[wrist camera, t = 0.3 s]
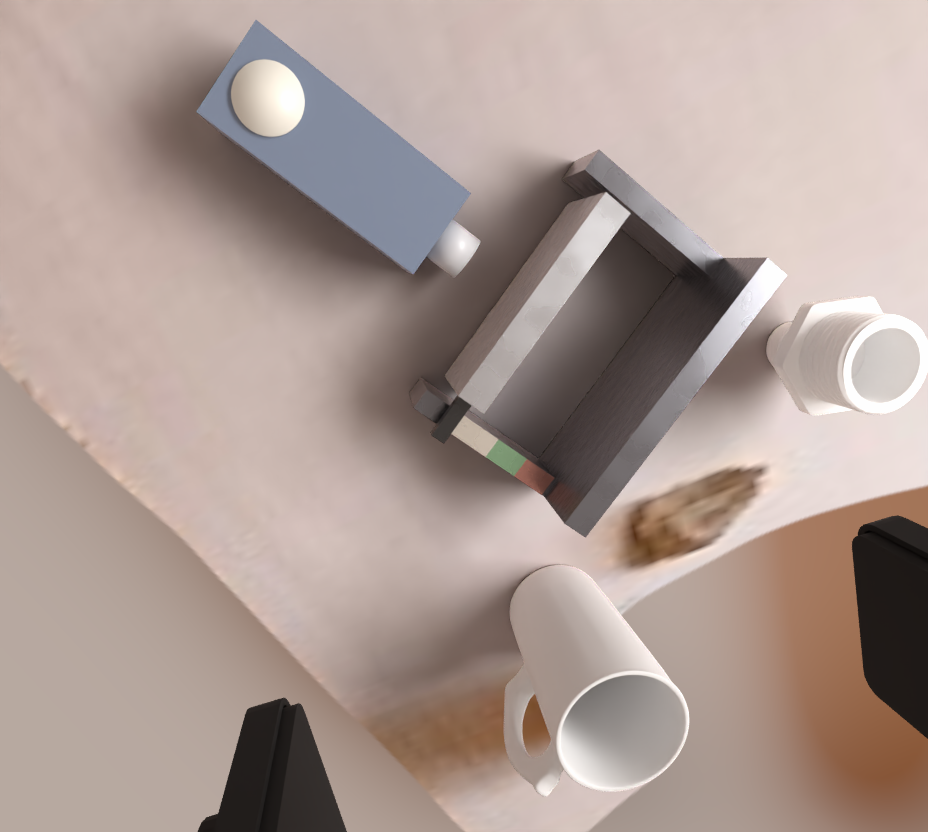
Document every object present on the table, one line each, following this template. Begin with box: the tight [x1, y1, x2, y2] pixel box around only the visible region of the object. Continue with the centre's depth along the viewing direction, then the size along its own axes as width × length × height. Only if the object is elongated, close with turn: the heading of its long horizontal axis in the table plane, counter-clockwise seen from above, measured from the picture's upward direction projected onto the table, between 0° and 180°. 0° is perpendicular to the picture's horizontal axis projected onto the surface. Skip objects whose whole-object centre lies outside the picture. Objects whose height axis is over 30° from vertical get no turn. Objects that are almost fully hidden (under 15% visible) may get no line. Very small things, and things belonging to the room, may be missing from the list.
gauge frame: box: [409, 150, 787, 538], centre depth 35 cm, size 10×16×8 cm, turn 144°
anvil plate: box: [430, 192, 630, 443], centre depth 35 cm, size 2×15×6 cm, turn 144°
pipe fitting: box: [766, 296, 928, 416], centre depth 37 cm, size 6×7×8 cm
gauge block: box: [196, 20, 481, 278], centre depth 33 cm, size 5×14×5 cm, turn 53°
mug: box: [504, 565, 689, 797], centre depth 38 cm, size 10×7×12 cm, turn 137°
